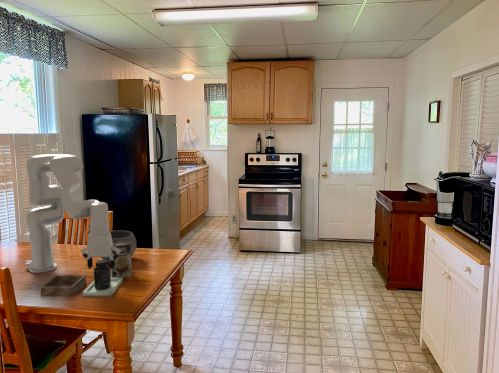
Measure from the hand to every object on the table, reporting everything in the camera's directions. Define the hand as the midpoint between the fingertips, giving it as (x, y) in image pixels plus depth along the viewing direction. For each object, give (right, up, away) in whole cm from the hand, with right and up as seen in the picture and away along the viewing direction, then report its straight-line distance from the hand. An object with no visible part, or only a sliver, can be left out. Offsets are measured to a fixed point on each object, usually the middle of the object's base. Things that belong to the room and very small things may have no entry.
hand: (101, 267), depth 170 cm
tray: (+1, -9, +1) cm, 10 cm away
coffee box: (+3, -7, +16) cm, 18 cm away
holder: (-16, -10, 0) cm, 19 cm away
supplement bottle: (0, -9, +1) cm, 9 cm away
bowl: (-6, -4, +37) cm, 37 cm away
